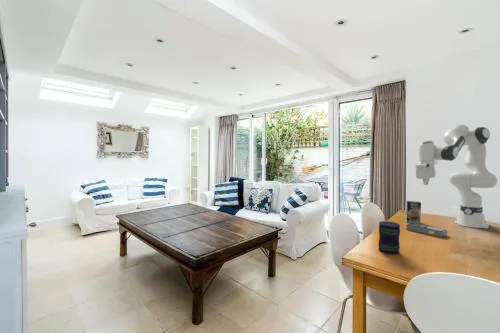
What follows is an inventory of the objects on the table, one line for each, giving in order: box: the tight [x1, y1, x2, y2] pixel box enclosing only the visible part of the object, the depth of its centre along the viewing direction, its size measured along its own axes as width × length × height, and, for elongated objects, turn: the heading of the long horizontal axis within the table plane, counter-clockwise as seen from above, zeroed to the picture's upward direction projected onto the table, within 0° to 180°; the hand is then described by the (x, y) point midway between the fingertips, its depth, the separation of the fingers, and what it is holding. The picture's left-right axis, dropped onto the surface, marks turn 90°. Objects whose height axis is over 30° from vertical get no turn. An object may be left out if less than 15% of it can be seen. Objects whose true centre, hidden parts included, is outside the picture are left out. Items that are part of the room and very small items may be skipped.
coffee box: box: [404, 200, 422, 224], centre depth 187 cm, size 9×6×16 cm
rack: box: [405, 223, 448, 239], centre depth 162 cm, size 8×20×4 cm, turn 32°
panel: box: [426, 226, 444, 232], centre depth 158 cm, size 5×8×3 cm, turn 32°
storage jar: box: [378, 220, 401, 256], centre depth 130 cm, size 10×10×15 cm
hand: (425, 184), depth 168 cm, fingers closed
